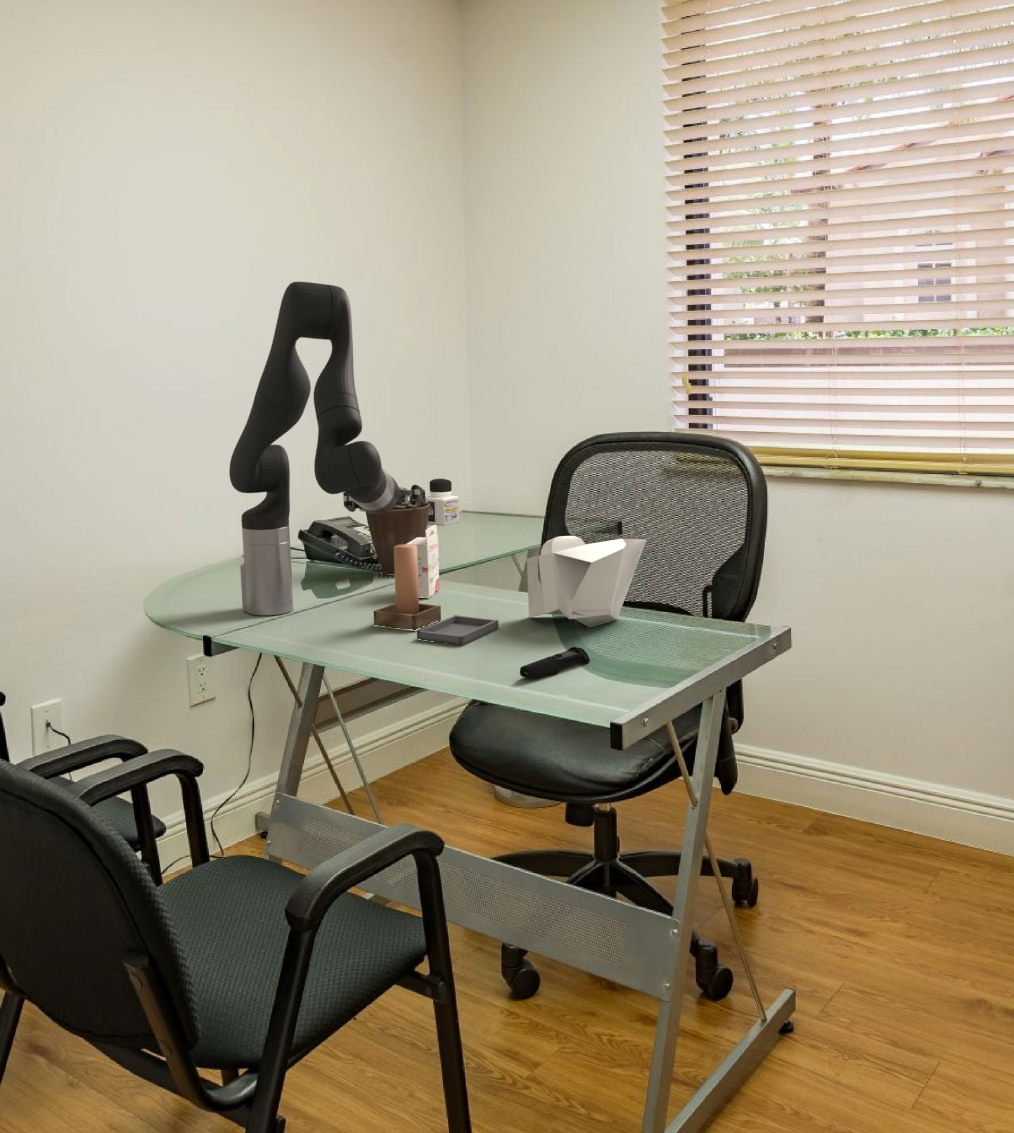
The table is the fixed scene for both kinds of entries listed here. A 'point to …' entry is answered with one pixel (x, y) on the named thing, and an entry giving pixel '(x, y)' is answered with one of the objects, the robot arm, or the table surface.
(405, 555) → the dowel
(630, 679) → the table surface
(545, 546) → the folded paper
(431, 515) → the container
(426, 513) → the plant pot
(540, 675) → the electric trimmer
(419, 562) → the ink cartridge box
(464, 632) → the desk tray
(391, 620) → the wooden square frame
